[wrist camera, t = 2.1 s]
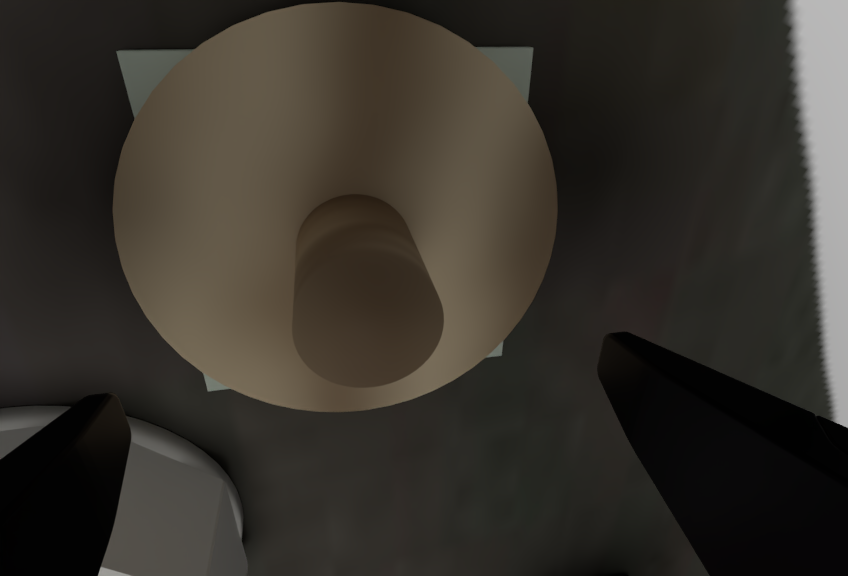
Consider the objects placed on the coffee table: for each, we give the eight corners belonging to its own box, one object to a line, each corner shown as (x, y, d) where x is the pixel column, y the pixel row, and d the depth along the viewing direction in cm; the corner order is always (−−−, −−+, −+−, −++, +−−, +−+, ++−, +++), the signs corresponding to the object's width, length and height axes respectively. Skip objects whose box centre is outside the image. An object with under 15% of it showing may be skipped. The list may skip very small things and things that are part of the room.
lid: (575, 4, 13) (701, 4, 9) (524, 373, 19) (585, 477, 15) (51, -1, 11) (-109, -4, 7) (182, 417, 17) (140, 553, 12)
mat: (527, 46, 13) (533, 47, 13) (497, 348, 18) (501, 355, 18) (121, 50, 12) (116, 51, 11) (210, 383, 17) (208, 391, 16)
